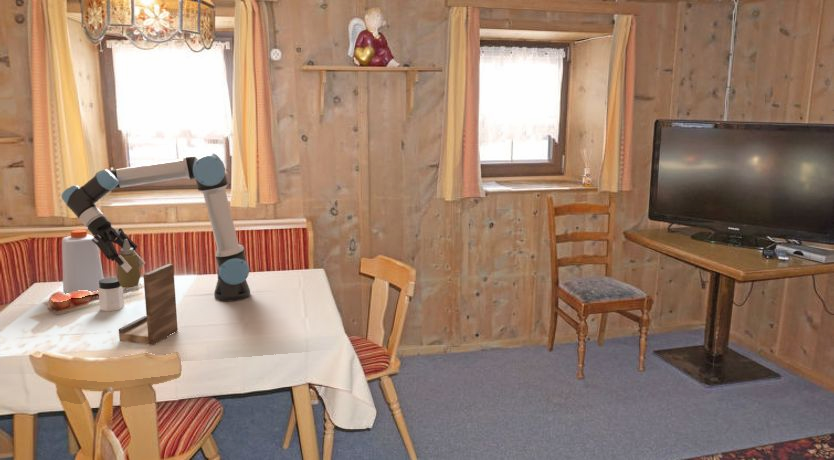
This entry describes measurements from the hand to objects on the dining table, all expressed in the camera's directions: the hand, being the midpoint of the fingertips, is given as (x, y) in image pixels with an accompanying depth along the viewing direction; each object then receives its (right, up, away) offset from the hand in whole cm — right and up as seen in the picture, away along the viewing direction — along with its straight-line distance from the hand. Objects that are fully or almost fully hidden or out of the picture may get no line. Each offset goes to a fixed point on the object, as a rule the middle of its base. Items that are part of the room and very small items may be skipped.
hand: (136, 267), depth 229 cm
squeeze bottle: (-4, -7, +3) cm, 8 cm away
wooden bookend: (+6, -25, -4) cm, 26 cm away
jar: (-21, -18, +24) cm, 37 cm away
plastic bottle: (-42, -14, +42) cm, 61 cm away
